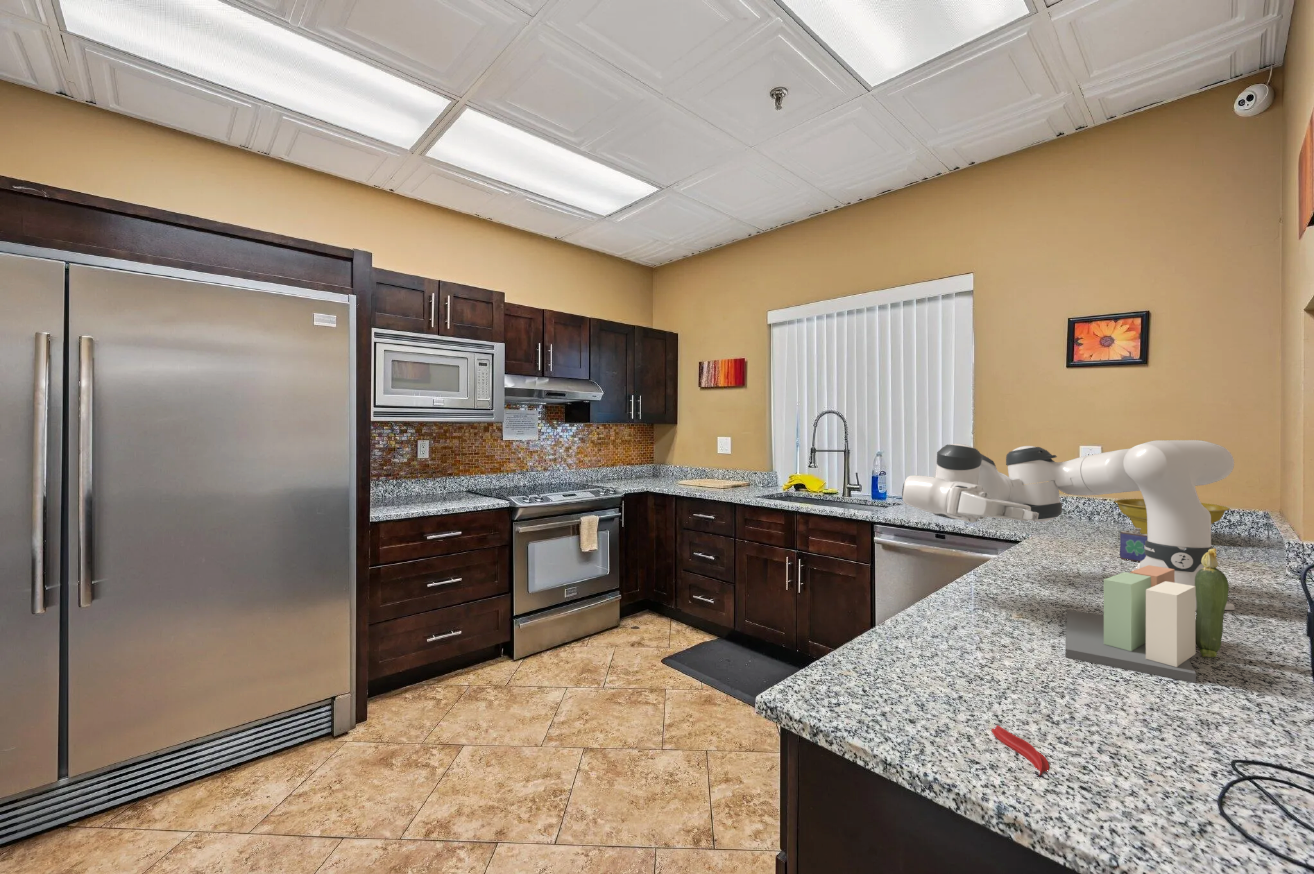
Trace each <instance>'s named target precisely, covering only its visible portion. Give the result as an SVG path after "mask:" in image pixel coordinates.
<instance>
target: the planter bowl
mask: <svg viewBox="0 0 1314 874" xmlns="http://www.w3.org/2000/svg"><path fill="white" fill-rule="evenodd" d="M1113 502H1114V503H1116V504H1117V506H1118V509H1119V510H1120V512H1121V514H1123V515H1124V516H1126V517H1127V518H1129V520H1130V521H1131V523H1132V525H1133V526H1134V528H1141V530H1140V534H1147V511H1146V505H1145V502H1144V499H1143V498H1121V499H1116V500H1114V501H1113ZM1201 504H1202V505H1203V506H1204V507H1205V508H1206V509H1207V510H1208V511H1209V512H1210V515H1211V525H1212V524H1215V523H1216V522H1217V523H1218V522H1219V521H1221V519H1222V518H1223V516H1224V514H1225V512H1226V511H1229V510H1230V508H1229V507H1228V506H1224V505H1219V504H1212V503H1206V502H1201Z"/></svg>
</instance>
